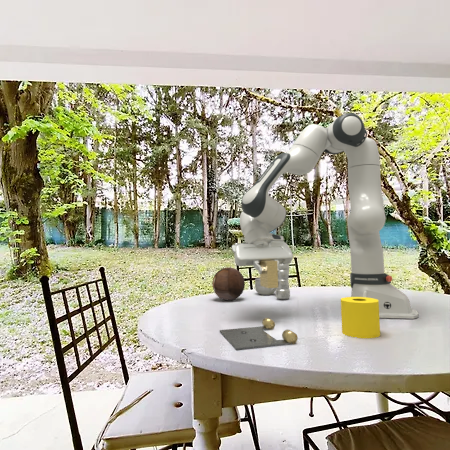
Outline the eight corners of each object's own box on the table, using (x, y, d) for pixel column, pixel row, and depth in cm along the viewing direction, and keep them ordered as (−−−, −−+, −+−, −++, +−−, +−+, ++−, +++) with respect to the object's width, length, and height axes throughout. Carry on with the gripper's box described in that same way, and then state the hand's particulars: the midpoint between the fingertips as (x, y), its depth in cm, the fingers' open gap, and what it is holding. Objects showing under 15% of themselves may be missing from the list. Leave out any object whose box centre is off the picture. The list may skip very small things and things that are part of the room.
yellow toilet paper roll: (373, 340, 87) (371, 304, 88) (336, 334, 94) (334, 300, 94) (385, 332, 95) (383, 298, 95) (350, 327, 101) (348, 295, 102)
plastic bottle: (275, 298, 156) (274, 255, 157) (290, 298, 155) (288, 255, 156) (275, 300, 150) (274, 255, 151) (290, 300, 149) (289, 255, 150)
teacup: (251, 293, 171) (251, 278, 172) (269, 292, 175) (269, 276, 176) (265, 297, 158) (264, 280, 159) (284, 295, 163) (284, 279, 163)
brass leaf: (260, 285, 113) (259, 260, 114) (270, 284, 114) (269, 259, 114) (267, 288, 106) (267, 261, 107) (278, 287, 107) (277, 260, 108)
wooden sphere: (245, 297, 161) (245, 266, 162) (244, 302, 146) (243, 268, 147) (215, 297, 162) (214, 266, 163) (210, 303, 147) (209, 269, 148)
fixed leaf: (219, 331, 99) (219, 321, 100) (271, 327, 104) (271, 317, 104) (236, 350, 82) (236, 337, 82) (297, 343, 86) (297, 331, 86)
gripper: (231, 237, 115) (240, 267, 105) (286, 236, 120) (300, 264, 110) (229, 250, 119) (237, 280, 109) (282, 248, 124) (294, 277, 114)
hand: (269, 272), depth 110 cm, fingers closed on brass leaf, 3 cm apart
